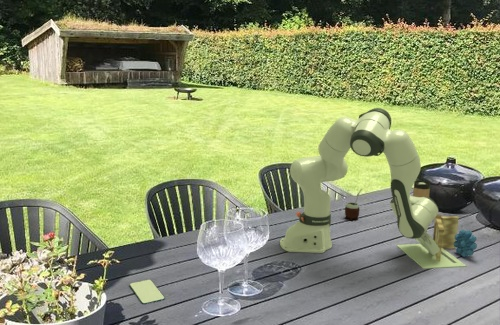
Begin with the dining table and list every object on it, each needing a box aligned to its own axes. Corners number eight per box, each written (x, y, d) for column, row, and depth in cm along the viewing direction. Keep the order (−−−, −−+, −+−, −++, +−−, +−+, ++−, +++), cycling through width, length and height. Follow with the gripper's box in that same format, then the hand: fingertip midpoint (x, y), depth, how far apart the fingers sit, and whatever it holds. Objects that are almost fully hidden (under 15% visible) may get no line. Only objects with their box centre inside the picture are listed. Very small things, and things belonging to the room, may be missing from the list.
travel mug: (424, 219, 258) (428, 180, 253) (428, 224, 250) (432, 184, 246) (409, 218, 258) (412, 180, 254) (412, 223, 251) (415, 184, 247)
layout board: (423, 268, 198) (423, 267, 198) (396, 245, 221) (397, 244, 221) (466, 266, 201) (466, 265, 201) (435, 244, 224) (435, 243, 224)
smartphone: (165, 300, 171) (150, 281, 184) (165, 298, 171) (150, 279, 184) (142, 306, 167) (128, 286, 181) (142, 303, 167) (128, 283, 180)
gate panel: (440, 260, 204) (444, 229, 201) (436, 260, 204) (439, 229, 201) (437, 248, 217) (440, 218, 214) (433, 247, 217) (436, 218, 215)
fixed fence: (433, 249, 218) (437, 216, 214) (431, 247, 220) (434, 214, 217) (456, 248, 219) (459, 215, 216) (453, 246, 221) (456, 213, 218)
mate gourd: (343, 220, 254) (345, 191, 250) (345, 215, 261) (347, 187, 258) (359, 222, 251) (360, 192, 248) (360, 217, 259) (362, 188, 256)
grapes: (482, 260, 207) (486, 232, 204) (469, 263, 204) (473, 234, 202) (461, 250, 217) (464, 223, 215) (448, 252, 215) (451, 225, 212)
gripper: (433, 231, 198) (450, 258, 201) (413, 215, 218) (428, 240, 221) (419, 240, 199) (436, 267, 202) (400, 223, 219) (416, 248, 222)
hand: (432, 253), depth 212 cm, fingers closed, pressing on layout board
